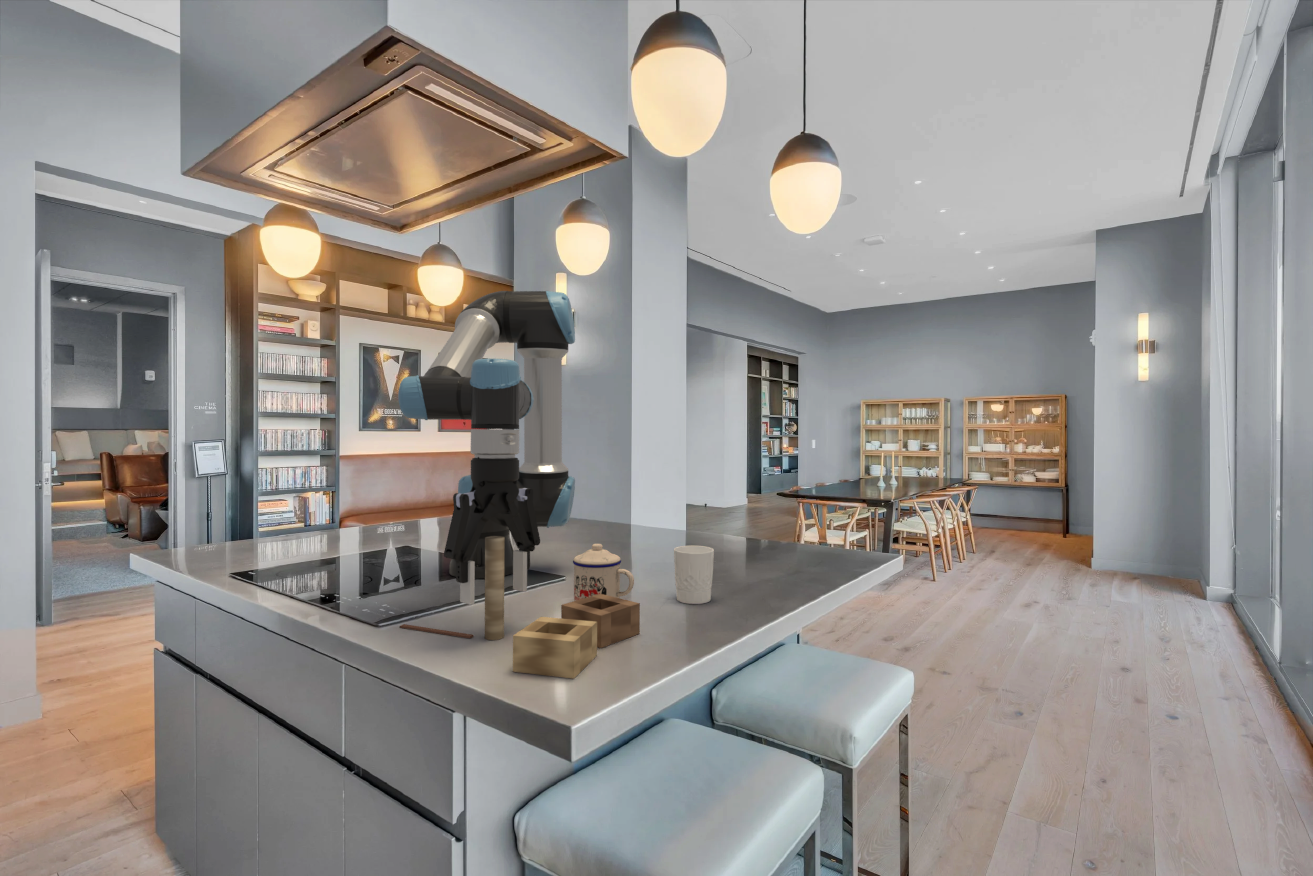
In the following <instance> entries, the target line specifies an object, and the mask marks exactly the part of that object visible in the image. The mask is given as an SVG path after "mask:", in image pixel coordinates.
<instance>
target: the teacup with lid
mask: <svg viewBox="0 0 1313 876" xmlns="http://www.w3.org/2000/svg"><path fill="white" fill-rule="evenodd" d="M621 563H622V560H621V557H620V556H619V555H617V554H615V553H611V552H610V551H608V550H607V549H604V548H603V545H602V543H593V544H592V545H591V549H588V550H585V552H583V553H581V554H578V555H576V556H574V558H573V559H572V564H573V567H574V568H573V601H577V600H580V599H584V598H587V597H591V596H594V595H598V594H604V595H608V596H612V597H616V598H620V597H623V596H627V595H629V594H630V593H631V592H632V590H633V588H634V586H635V577H634V575H633V572H631V571H629V570H627V569H625V568H621ZM621 574H623V575H625V576H627V578H628V587H627V589H626V590H625V591H620V588H621V587H620V581H621V579H620V578H621V577H620V576H621ZM620 599H621V598H620Z"/></svg>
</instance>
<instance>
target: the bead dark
mask: <svg viewBox="0 0 1313 876" xmlns="http://www.w3.org/2000/svg"><path fill="white" fill-rule="evenodd" d="M640 604H641V603H640V602H636V601H632V600H628V599H624V598H616V597H612V596H608V595H604V594H598V595H594V596H591V597H587V598H584V599H580V600H577V601H574V600H573V601H570V602H566V603H562V604H561V609H560V610H561V611H560V613H561V614H560V615H561V618H562V619H573V620H584V621H595V622H597V648H599V649H603V648H605V647H608V646H611V645H613V644H615V643H619V642H621V641H624V640H627V639H629V638H631V637H634V636H636V635H639V634H640V627H641V626H640V625H641V624H640V623H641V621H640V620H641V618H640V615H641V613H640V612H641V611H640V610H641V605H640Z"/></svg>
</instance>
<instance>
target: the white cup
mask: <svg viewBox="0 0 1313 876" xmlns="http://www.w3.org/2000/svg"><path fill="white" fill-rule="evenodd" d="M714 554H715V550H714V548H713V547H709V546H704V545H682V546H676V547H674V548H673V557H674V560H673V562H674V565H673V566H674V579H675V582H674V583H675V588H676V590H675V591H676V600H677V602H679V603H684V604H690V605H702V604H707V603H708V602H709V603H710V601H711V600H712V597H711V596H712V587H713V575H714V574H713V573H714V559H715V558H714V556H715V555H714Z"/></svg>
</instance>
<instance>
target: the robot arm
mask: <svg viewBox="0 0 1313 876" xmlns="http://www.w3.org/2000/svg"><path fill="white" fill-rule="evenodd" d="M574 321H575V320H574V315H573V309H572V305H571V301H570V298H569V296H568V295H567V294H565V293H564V292H559V291H549V290H545V291H543V290H539V291H537V290H535V291H534V290H532V291H531V290H522V291H521V290H520V291H518V290H516V291H515V290H500V291H494V292H490V293H488V294H486V295H483V296H481V297H479V298H477V299H476V300H474V301H472V302H470V304H468V305H466V306H465V307H464V308H463V309H462V311H460V313H459V314H458V316H457V317H456V319H455V323H454V331H453V332H452V334H451V335H450V336H449V338H448V340H447V341H446V343H445V344H444V346H443V347H442V348H441V350H440V352H438V354H437V356H436V358H435V359H434V360H433V362H432V363H431V365H430V366H429V368H428V369H427V371H426V372H425V373H424V375H413V376H411V375H410V376H407V377H404V378H403V379H402V380H401V382H400V384H399V386H398V387H399V388H398V395H397V396H398V397H397V398H398V405H399V409H400V411H401V413H402V414H403V416H404V417H405V418H407V419H413V420H424V421H428V420H438V421H439V420H441V421H442V420H445V421H446V420H450V421H451V420H453V421H454V420H457V421H458V420H461V421H462V420H464V421H465V420H468V421H469V420H470V454H472V455H474V457H472V458H471V459H470V474H468V475H464V476H462V477H461V478H459V481H458V483H457V484H458V485H457V486H458V487H457V492H455V493H454V494H453V495H452V496H453V497H452V501H453V512H452V515H451V520H450V524H449V529H448V534H447V538H446V541H445V546H444V552H443V557H444V558H446V559H450V561H449V574H450V575H451V576H452V577H455V579H456V582H457V583H459V602H460V603H463V604H466V605H470V606H472V605H474V604H475V592H476V591H475V582H476V581H475V579H485V538H486V537H489V536H503V537H505V538H504V577H505V576H508V575H511V574H512V590H514V591H519V592H522V593H524V592H527V591H528V570H530V567H531V552H534V551H535V549H536V546H539V545H540V544H541V536H540V533H539V527H540V528H542V527H543V528H545V527H546V528H548V529H549V528H554V527H555V528H556V527H564V526H565V525H567V524H568V522H569V521H570V517H571V514H572V508H573V503H574V496H575V491H576V490H575V489H576V484H575V483H576V479H575V477H573V476H572V475H569V467H567V466H566V465H565V464H564V463H563V452H562V451H563V449H562V448H563V446H562V445H563V443H562V441H563V433H562V431H563V427H562V426H563V421H562V419H563V417H562V416H563V415H562V414H563V409H562V408H563V405H562V404H563V402H562V401H563V400H562V399H563V398H562V397H563V396H562V395H563V393H562V391H563V390H562V389H563V387H562V386H563V385H562V381H563V380H562V378H563V372H562V371H563V369H562V368H563V365H562V364H563V363H562V360H563V358H564V357H565V356H566V355H567V354H568V353H569V345H572V344H574V343H575V342H576V330H575V329H576V328H575V322H574ZM500 343H501V344H502V343H509V344H516V351H517V352H518V353H519V354H520V356H522V358H523V380H522V379H521V378H522V377H521V375H520V373H521V372H520V365H519V363H518V362H517V361H515V360H513V359H507V358H506V359H505V358H484V356H485V354H486V352H487V351H488V349H492V347H494V346H495V345H496V344H500ZM521 419H523V420H524V421H523V423H524V424H523V427H524V428H523V431H524V434H523V435H524V438H523V443H524V445H523V447H524V448H523V451H524V452H523V454H524V458H523V459H524V460H523V461H524V462H523V463H522V464H521V465H520V459H519V458H518V457H516V455H518V454H519V453H520V420H521ZM510 534H511V537H512V539H513V541H514V543H515V545H516V547H517V549H514V548H513V544H512V542H511V538H510Z"/></svg>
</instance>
